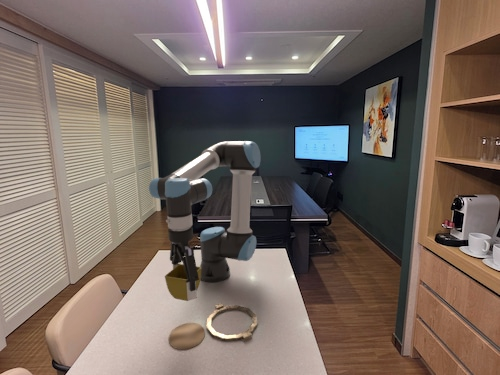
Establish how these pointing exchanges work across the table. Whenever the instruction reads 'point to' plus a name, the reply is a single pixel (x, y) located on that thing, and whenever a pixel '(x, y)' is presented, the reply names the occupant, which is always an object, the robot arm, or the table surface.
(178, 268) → the flower pot
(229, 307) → the socket ring
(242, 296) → the table surface
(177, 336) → the coaster
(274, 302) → the table surface
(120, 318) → the table surface
